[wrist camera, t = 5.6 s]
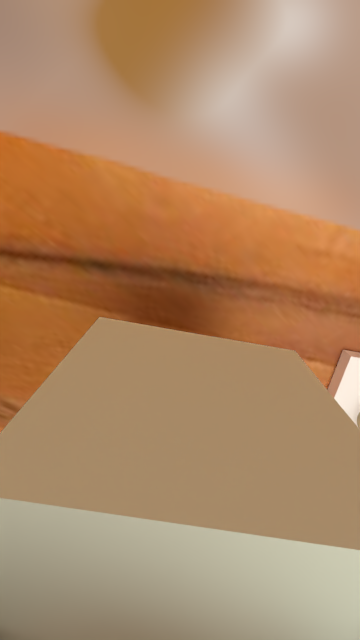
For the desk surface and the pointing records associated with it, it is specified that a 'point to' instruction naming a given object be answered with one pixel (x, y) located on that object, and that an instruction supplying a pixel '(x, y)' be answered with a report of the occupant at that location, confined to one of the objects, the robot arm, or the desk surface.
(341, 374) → the board
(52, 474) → the housing
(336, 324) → the desk surface
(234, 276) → the desk surface
